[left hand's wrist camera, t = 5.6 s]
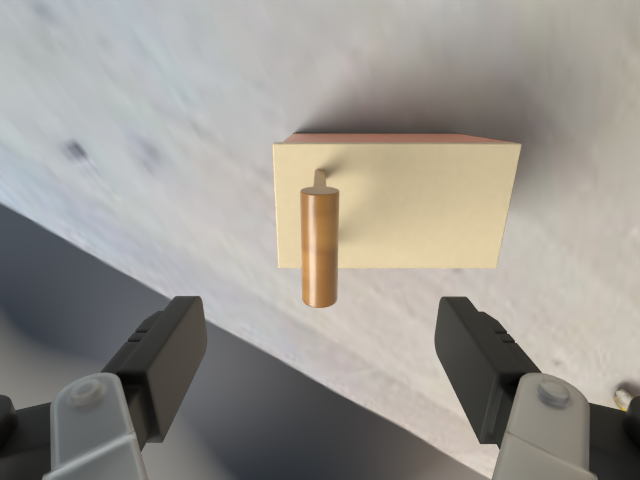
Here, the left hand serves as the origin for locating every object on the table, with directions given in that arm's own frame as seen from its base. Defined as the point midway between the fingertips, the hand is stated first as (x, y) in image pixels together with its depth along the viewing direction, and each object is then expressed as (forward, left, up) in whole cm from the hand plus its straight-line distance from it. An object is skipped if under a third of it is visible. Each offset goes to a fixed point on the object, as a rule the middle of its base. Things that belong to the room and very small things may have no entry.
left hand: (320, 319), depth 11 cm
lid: (+5, 0, -15) cm, 15 cm away
